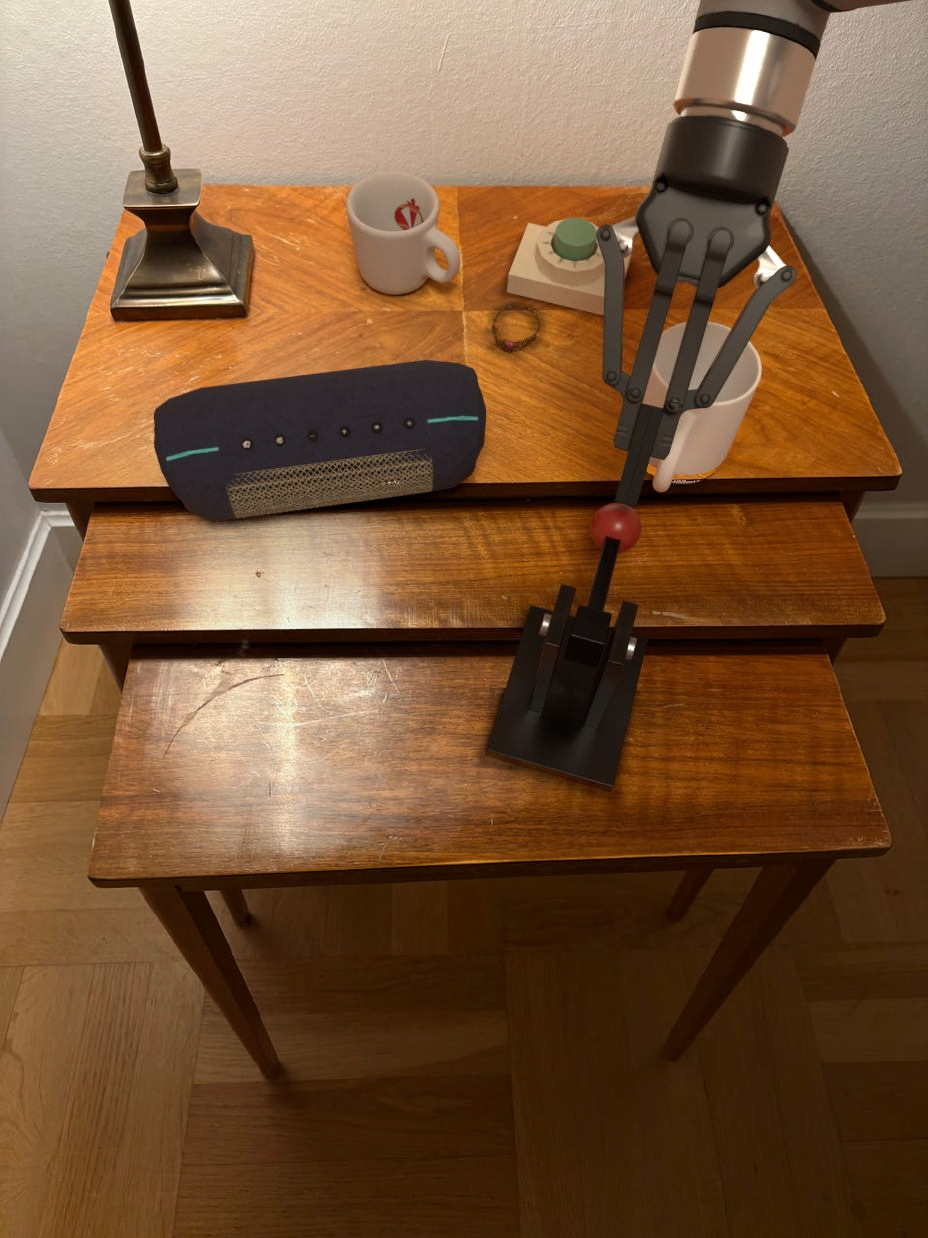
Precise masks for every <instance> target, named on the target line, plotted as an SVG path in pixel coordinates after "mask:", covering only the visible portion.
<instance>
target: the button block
mask: <svg viewBox="0 0 928 1238" xmlns="http://www.w3.org/2000/svg"><path fill="white" fill-rule="evenodd" d="M563 220H564V219H561V220H560V219H559V220H555V221H553V222H551V223H550V224H548V225H547V226H544V225H540V224H535V223H531V222H528V223H527V226H526V228H525V230H524V232H523V236H522V238H521V240H520V243H519V246H518V248H517V251H516V254H515V256H514V258H513V262H512V264H511V266H510V270H509V272H508V274H507V285H506V293H508V294H513V295H516V296H521V297H525V298H527V299H528V298H530V299H531V300H532V299H533V300H537V301H541V302H545V303H550V304H554V305H557V306H558V305H559V306H562V307H566V308H570V309H574V310H578V311H583V312H587V313H591V314H594V315H599V316H603V317H604V286H605V263H604V260H603V257H602V254H601V251H600V247H599V244H598V241H597V238H596V241H595V246H594V251H593V254H592V255H591V256H590V257H589V258H588V259H586V260H582V261H575V262H574V261H570V260H566V259H562V258H561V257H560V256H558V255H557V254H556V252H555V250H554V240H555V232H556V227H557V226H558V224H559V223H560V222H561V221H563ZM589 222H590V223H591V224H592V225H593V226H594V227H595V229H596V232H597V230H598V229H599V227H600V226H598V225H596V224H595V223H593V222H592V221H589ZM632 255H633V252H632V253H631V254H630V255H629V256H628V257H626V258H623V259H624V265H625V278H626V277H627V274H628V270H629V268H630V264H631V260H632Z"/></svg>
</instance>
